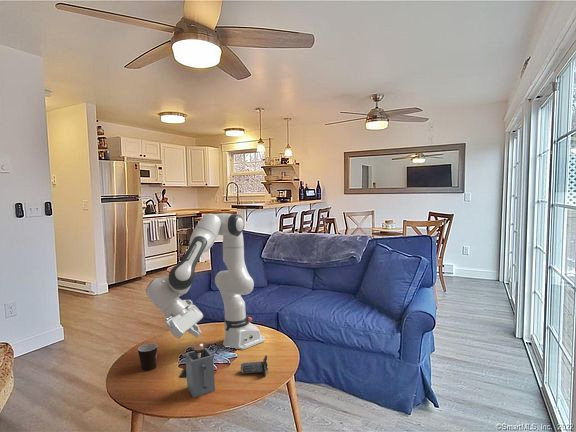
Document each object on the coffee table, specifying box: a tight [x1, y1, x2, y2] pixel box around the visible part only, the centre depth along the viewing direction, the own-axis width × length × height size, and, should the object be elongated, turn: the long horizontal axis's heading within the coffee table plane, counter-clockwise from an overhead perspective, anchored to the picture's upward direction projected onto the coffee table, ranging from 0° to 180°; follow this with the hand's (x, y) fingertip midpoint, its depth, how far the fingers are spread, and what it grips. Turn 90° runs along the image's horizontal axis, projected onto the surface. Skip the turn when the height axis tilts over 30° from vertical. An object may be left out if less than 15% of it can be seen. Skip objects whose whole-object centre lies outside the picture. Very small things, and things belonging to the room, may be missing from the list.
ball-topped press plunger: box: [193, 341, 204, 359], centre depth 148 cm, size 6×6×14 cm
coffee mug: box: [137, 342, 158, 372], centre depth 170 cm, size 12×9×10 cm
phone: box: [180, 364, 187, 379], centre depth 166 cm, size 8×1×15 cm
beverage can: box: [240, 355, 269, 378], centre depth 161 cm, size 9×8×12 cm
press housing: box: [184, 347, 216, 398], centre depth 148 cm, size 9×12×15 cm
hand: (199, 335), depth 147 cm, fingers closed
